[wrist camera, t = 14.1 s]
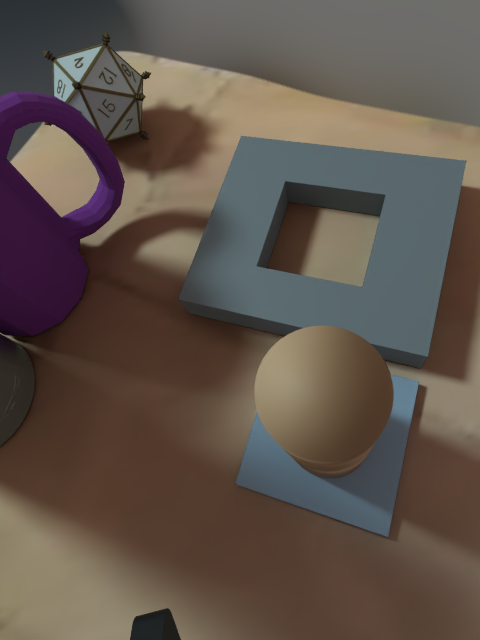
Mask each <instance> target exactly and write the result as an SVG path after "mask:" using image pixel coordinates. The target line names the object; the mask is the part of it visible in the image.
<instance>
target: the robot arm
mask: <svg viewBox="0 0 480 640" xmlns="http://www.w3.org/2000/svg"><path fill="white" fill-rule="evenodd" d="M34 387H35V377H34V369H33V365H32V362H31V360H30V358H29V356H28V354H27V352H26V351H25V350H24V349H23V348H22V347H21V346H20V345H19V344H18V343H16V342H14V341H13V340H11V339H9V338H7V337H5V336H3V335H1V334H0V446H1V445H2V444H3V443H4V442H6V441H7V440H8V439H9V438H10V437H11V436H12V435H13V434H14V432H15V431H16V430H17V429H18V427H19V426H20V425H21V423H22V421H23V420H24V418H25V416H26V414H27V412H28V410H29V407H30V404H31V401H32V399H33V393H34ZM130 640H181V639H180V636H179V633H178V630H177V627H176V625H175V622H174V619H173V616H172V613H171V611H170V610H169V609H168V608H167V609H163V610H159V611H155V612H151V613H148V614H144V615H140V616H136V617H135V619H134V621H133V625H132V631H131V637H130Z"/></svg>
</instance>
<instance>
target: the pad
mask: <svg viewBox="0 0 480 640" xmlns="http://www.w3.org/2000/svg"><path fill="white" fill-rule="evenodd" d="M391 378H392V382H393V390H394V400H393V407H392V411H391V415H390V418H389V420H388V422H387V425H386V426H385V428H384V430H383V431H382V433H381V435H380V436H379V438H378V439H377V441H376V443H375V444H374V446H373V447H372V449H371V451H370V452H369V454H368V455H367V457H366V459H365V460H364V462H363V463H362V464H361V465H360V467H358V468H357V469H356V470H355V471H353V472H352V473H350V474H348V475H346V476H343V477H340V478H322V477H318V476H315V475H313V474H311V473H309V472H307V471H306V470H304V469H303V468H302V467H301V466H300V465H299V464H298V463H297V462H296V461H295V460H294V459H293V458H292V457H291V456H290V455H289V454H288V453H287V452H286V451H285V450H284V449H283V448H282V447H281V446H280V445H279V444H278V443H277V442H276V441H275V440H274V439H273V438H272V437H271V436H270V434H269V433H268V432H267V431H266V429H265V427H264V426H263V424H262V422H261V420H260V418H259V415H258V412H257V414H256V417H255V420H254V424H253V427H252V430H251V434H250V437H249V440H248V443H247V447H246V450H245V453H244V457H243V460H242V463H241V466H240V470H239V473H238V476H237V480H236V483H235V484H236V485H239V486H242V487H245V488H247V489H250V490H253V491H256V492H259V493H262V494H265V495H268V496H271V497H273V498H276V499H279V500H282V501H285V502H288V503H291V504H294V505H296V506H299V507H302V508H305V509H308V510H311V511H314V512H317V513H320V514H322V515H325V516H328V517H331V518H334V519H337V520H340V521H343V522H346V523H348V524H351V525H354V526H357V527H360V528H363V529H366V530H369V531H371V532H374V533H377V534H380V535H383V536H386V537H388V535H389V530H390V525H391V520H392V515H393V510H394V505H395V500H396V495H397V490H398V485H399V480H400V475H401V470H402V465H403V459H404V454H405V449H406V444H407V439H408V434H409V429H410V424H411V419H412V414H413V409H414V404H415V399H416V394H417V389H418V384H419V382H418V381H414V380H410V379H406V378H402V377H398V376H394V375H391Z"/></svg>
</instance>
